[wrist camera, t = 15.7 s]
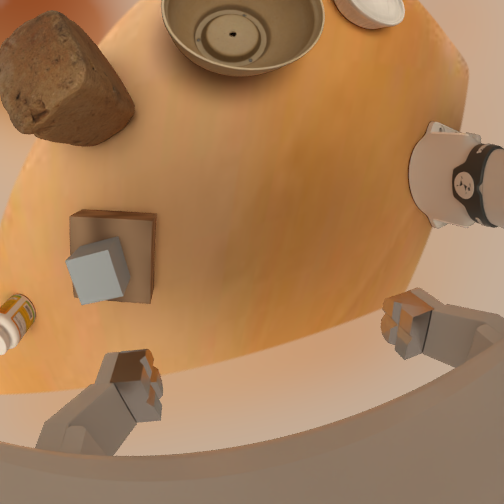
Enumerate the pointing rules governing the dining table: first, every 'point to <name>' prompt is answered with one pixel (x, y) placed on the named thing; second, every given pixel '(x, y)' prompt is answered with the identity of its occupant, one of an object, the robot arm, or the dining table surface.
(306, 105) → the dining table surface
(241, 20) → the planter bowl
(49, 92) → the brown rounded block
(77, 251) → the slate cube
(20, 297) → the supplement bottle
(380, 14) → the ramekin
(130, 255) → the walnut block
